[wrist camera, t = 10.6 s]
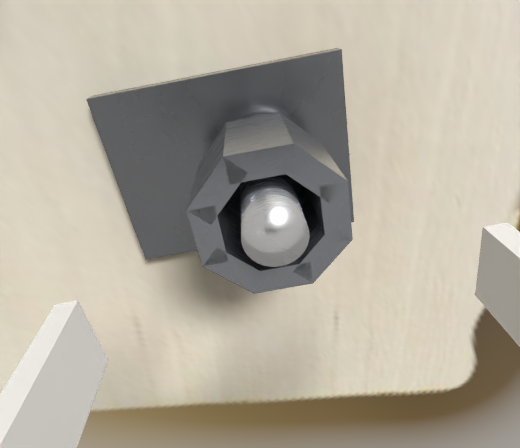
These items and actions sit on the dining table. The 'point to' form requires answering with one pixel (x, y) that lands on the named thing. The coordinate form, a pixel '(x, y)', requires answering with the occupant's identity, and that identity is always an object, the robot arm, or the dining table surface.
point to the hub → (257, 167)
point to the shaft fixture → (201, 138)
